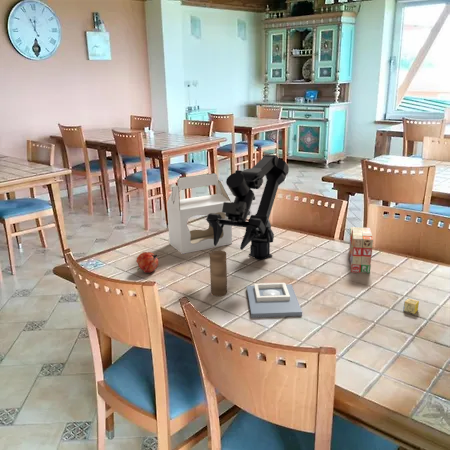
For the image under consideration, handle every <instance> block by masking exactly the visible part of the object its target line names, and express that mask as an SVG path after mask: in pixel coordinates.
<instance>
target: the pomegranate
mask: <svg viewBox="0 0 450 450" xmlns="http://www.w3.org/2000/svg"><path fill="white" fill-rule="evenodd" d="M159 256H160V255H158V254H157V253H156V254H154V253H152V252H151V251H150V252H149V251H144V252H142V253H139V255H137V258H136V263H137V265H138V269H137V270H136V271H137V272H138V271H139V270H141V271H142V272H144V273H145V274H150V273H153V272H154V271H155V270H156V269H157V268H158V267H159V259H158V258H157V257H159Z"/></svg>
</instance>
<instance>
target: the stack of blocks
mask: <svg viewBox="0 0 450 450" xmlns="http://www.w3.org/2000/svg"><path fill="white" fill-rule="evenodd" d="M349 229H350V230H349V248H348V249H349V250H350V251H349V259H350V261H349V262H350V273H358V272H367V273H366V274H370V273H371V267H372V264H371V263H372V255H373V254H372V253H373V244H374V243H373V242H374V238H373V234H372V230H371V228H370V227H357V226H351V227H349Z"/></svg>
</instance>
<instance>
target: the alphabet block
mask: <svg viewBox="0 0 450 450" xmlns="http://www.w3.org/2000/svg"><path fill="white" fill-rule="evenodd" d="M419 304H420V301H419V300H416V299H412V298H407V299H405V300H404V301H403V312H406V313H410V314H413V315H415V314H416V313H417V312H418V310H419Z"/></svg>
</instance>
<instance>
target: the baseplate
mask: <svg viewBox="0 0 450 450" xmlns="http://www.w3.org/2000/svg"><path fill="white" fill-rule="evenodd" d="M246 291H247V292H246V293H247V297H248V298H247V299H248V305H249V311H250V312H249V313H250V317H251V318H274V317H275V318H276V317H283V318H284V317H302V316H303V311H302V308H301V306H300V302H299V299H298V297H297V294H296V292H295V289H294V288H293V284H292V283H290V284H288V283H287V284H286V282H263V283H253V285H246Z"/></svg>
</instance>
